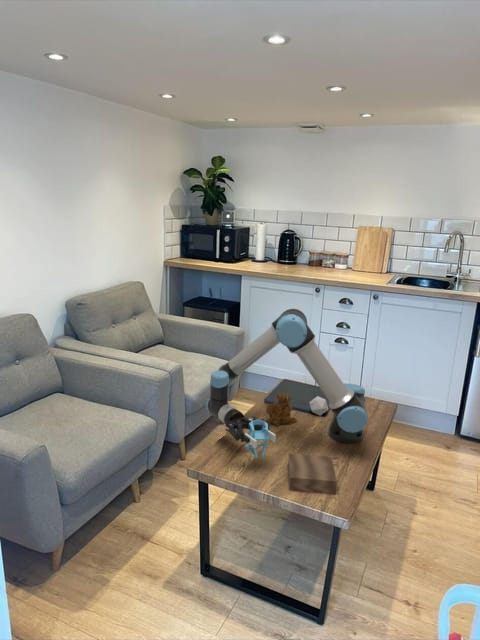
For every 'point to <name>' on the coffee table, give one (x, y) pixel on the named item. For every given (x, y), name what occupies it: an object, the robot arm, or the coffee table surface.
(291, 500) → the coffee table surface
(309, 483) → the wooden square box
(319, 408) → the die
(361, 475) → the coffee table surface
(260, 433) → the chair
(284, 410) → the stuffed squirrel
